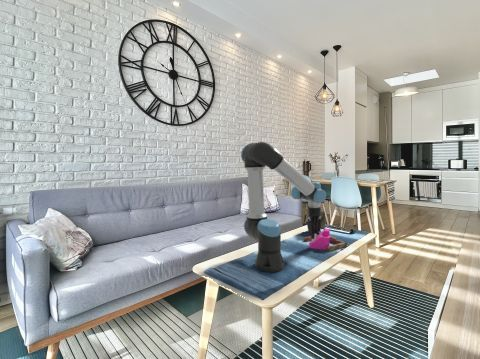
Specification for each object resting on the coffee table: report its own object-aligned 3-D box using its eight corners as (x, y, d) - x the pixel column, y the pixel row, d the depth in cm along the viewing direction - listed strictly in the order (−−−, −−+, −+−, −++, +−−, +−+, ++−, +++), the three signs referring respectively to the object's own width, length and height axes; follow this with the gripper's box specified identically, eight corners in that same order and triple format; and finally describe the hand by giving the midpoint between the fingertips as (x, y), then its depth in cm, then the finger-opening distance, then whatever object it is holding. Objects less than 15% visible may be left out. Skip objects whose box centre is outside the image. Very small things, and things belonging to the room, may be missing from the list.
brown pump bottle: (324, 235, 179) (325, 201, 177) (312, 235, 180) (312, 201, 177) (318, 229, 194) (319, 198, 192) (307, 230, 194) (307, 198, 192)
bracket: (329, 244, 161) (329, 229, 160) (329, 250, 151) (329, 233, 151) (310, 242, 165) (310, 227, 164) (309, 248, 155) (309, 232, 155)
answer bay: (328, 251, 149) (328, 246, 149) (303, 241, 168) (303, 236, 168) (346, 246, 156) (346, 241, 156) (321, 237, 175) (321, 232, 175)
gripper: (310, 208, 150) (310, 247, 152) (326, 206, 156) (326, 243, 158) (302, 206, 156) (302, 243, 158) (317, 204, 162) (317, 240, 164)
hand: (314, 243), depth 158 cm, fingers closed
